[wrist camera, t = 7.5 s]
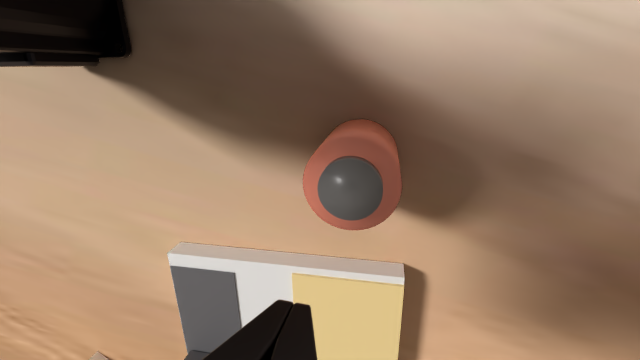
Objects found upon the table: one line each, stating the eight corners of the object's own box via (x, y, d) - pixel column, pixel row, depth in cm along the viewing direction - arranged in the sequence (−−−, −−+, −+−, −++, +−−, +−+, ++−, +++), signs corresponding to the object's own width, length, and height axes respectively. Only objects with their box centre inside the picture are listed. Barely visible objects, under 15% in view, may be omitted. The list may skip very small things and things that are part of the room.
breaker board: (180, 242, 23) (165, 254, 22) (403, 263, 20) (404, 279, 19) (205, 380, 28) (195, 399, 27) (390, 414, 25) (390, 437, 24)
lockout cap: (322, 118, 18) (297, 138, 13) (400, 119, 18) (406, 141, 12) (323, 189, 20) (301, 232, 15) (395, 193, 19) (398, 240, 14)
